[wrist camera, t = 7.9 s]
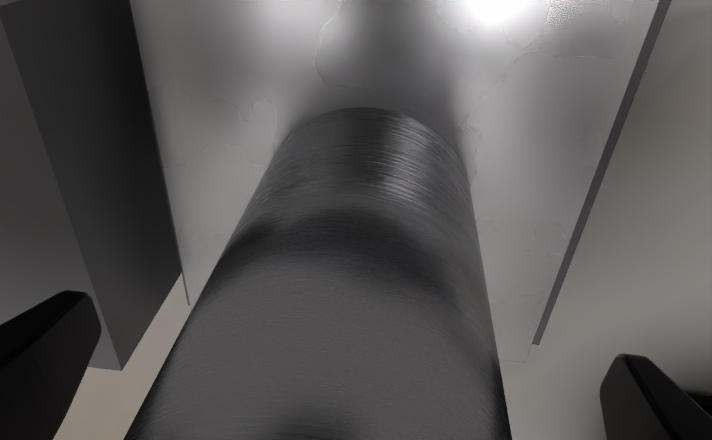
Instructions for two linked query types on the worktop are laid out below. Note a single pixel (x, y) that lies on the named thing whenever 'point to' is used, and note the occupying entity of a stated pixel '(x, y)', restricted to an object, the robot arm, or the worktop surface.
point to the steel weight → (342, 301)
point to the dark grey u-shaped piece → (114, 169)
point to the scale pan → (402, 95)
